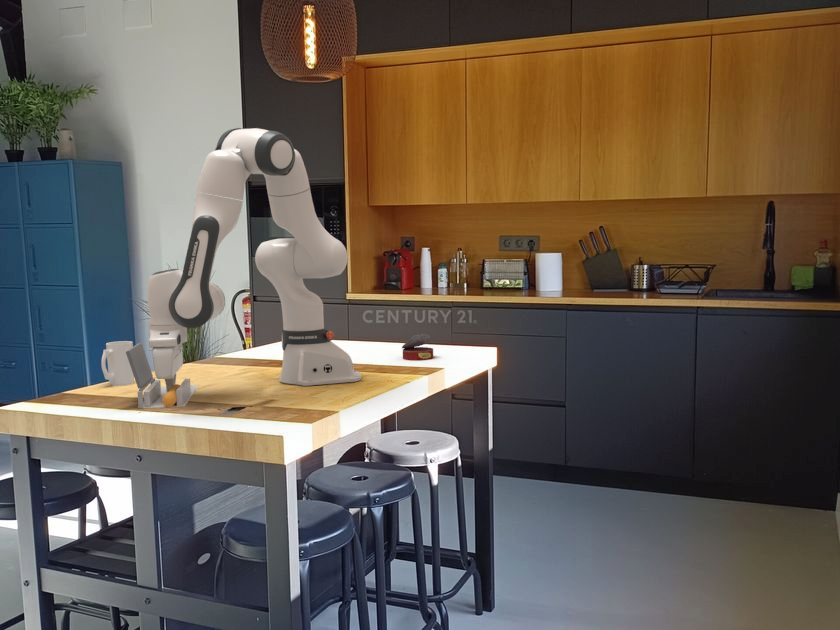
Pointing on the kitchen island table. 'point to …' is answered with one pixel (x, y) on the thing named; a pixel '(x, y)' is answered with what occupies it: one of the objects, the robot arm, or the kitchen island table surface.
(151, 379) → the lid
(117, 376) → the mug
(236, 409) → the knife
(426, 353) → the canned food
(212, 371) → the kitchen island table surface
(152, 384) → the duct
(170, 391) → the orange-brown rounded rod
